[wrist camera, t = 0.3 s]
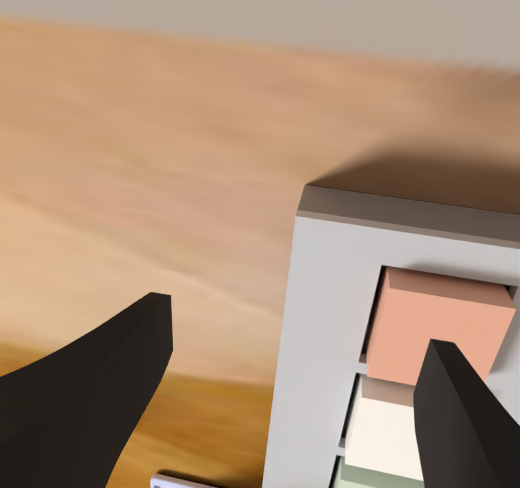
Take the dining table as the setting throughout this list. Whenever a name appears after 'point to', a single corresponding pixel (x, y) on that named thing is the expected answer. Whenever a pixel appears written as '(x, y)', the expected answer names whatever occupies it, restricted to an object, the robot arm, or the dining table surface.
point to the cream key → (382, 428)
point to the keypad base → (369, 311)
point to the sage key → (369, 478)
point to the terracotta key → (434, 322)
